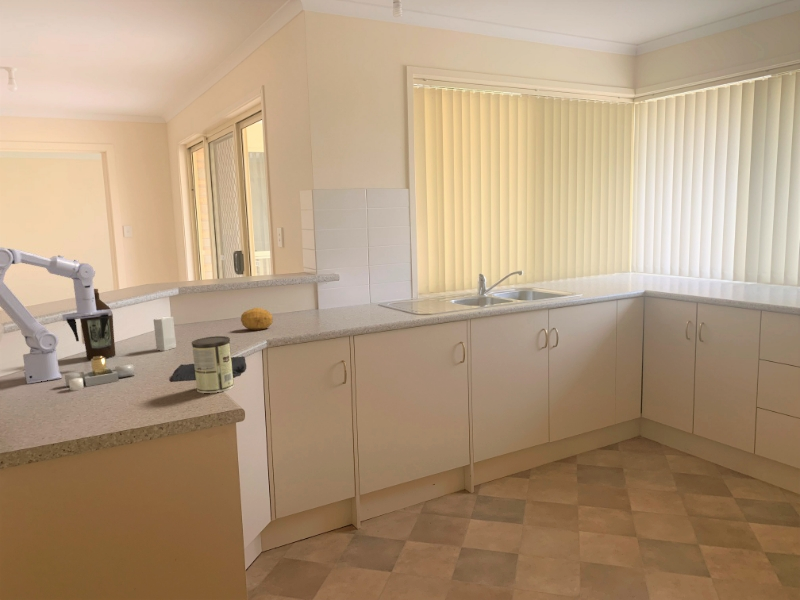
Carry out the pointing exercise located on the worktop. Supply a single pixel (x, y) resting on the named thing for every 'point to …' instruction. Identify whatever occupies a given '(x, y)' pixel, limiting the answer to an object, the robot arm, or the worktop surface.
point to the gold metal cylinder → (98, 365)
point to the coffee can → (213, 364)
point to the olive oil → (98, 333)
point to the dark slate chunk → (189, 374)
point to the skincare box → (164, 333)
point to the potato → (256, 319)
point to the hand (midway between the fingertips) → (90, 339)
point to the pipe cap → (76, 384)
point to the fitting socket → (101, 379)
